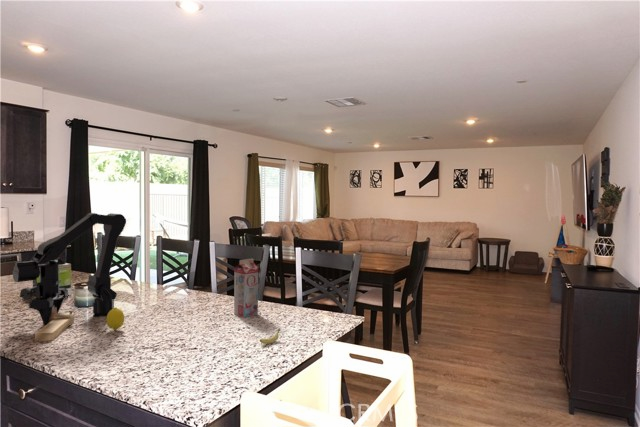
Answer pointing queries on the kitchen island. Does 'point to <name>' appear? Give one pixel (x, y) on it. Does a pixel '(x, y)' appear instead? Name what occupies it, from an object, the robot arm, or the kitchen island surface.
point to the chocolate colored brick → (59, 315)
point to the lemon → (115, 318)
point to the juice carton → (246, 288)
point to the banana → (270, 339)
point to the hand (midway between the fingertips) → (49, 321)
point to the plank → (53, 329)
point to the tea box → (61, 277)
